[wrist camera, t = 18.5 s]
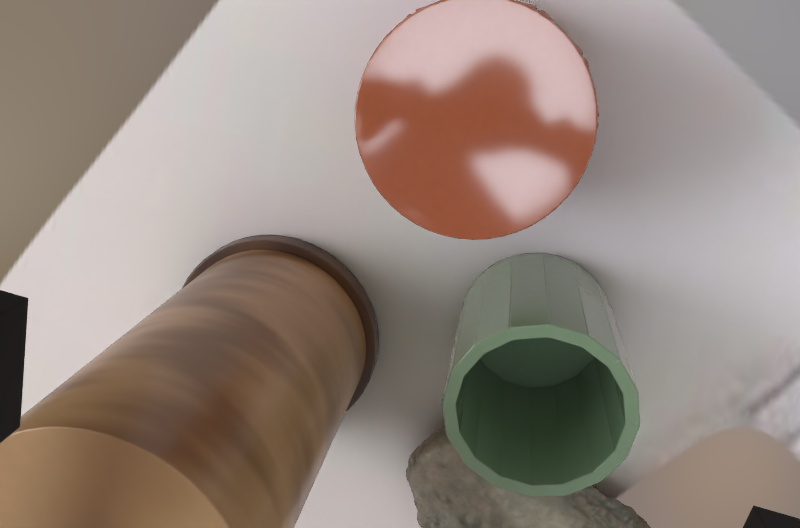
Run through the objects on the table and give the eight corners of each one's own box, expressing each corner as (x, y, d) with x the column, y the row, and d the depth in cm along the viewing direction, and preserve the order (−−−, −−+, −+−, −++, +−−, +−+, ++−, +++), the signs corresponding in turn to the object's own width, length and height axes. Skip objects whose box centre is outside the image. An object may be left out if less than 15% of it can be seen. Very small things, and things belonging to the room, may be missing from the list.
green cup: (444, 366, 42) (422, 465, 33) (483, 234, 39) (471, 302, 30) (583, 406, 42) (601, 519, 32) (632, 276, 39) (668, 357, 29)
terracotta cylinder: (378, 160, 39) (332, 205, 30) (419, -20, 36) (383, -34, 26) (546, 206, 38) (554, 266, 29) (603, 27, 35) (633, 30, 26)
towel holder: (170, 390, 46) (-273, 859, 20) (197, 210, 42) (-317, 512, 16) (354, 445, 45) (135, 1007, 19) (400, 267, 41) (198, 682, 15)
